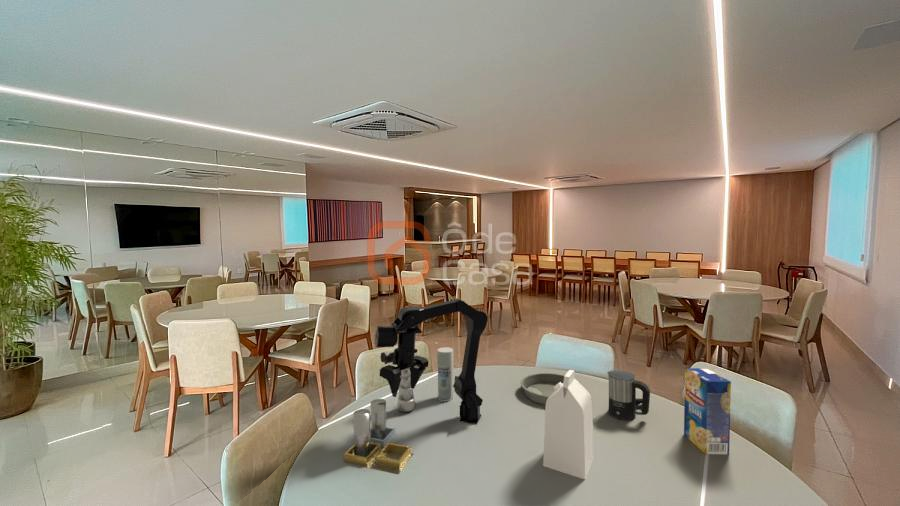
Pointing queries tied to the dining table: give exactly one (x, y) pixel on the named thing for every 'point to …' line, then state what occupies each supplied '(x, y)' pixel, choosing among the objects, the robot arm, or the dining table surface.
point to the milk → (569, 428)
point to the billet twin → (362, 432)
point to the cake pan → (541, 385)
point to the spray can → (445, 374)
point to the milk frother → (626, 395)
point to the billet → (378, 419)
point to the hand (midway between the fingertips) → (403, 392)
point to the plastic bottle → (405, 392)
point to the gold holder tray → (381, 457)
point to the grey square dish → (390, 435)
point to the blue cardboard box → (707, 410)
